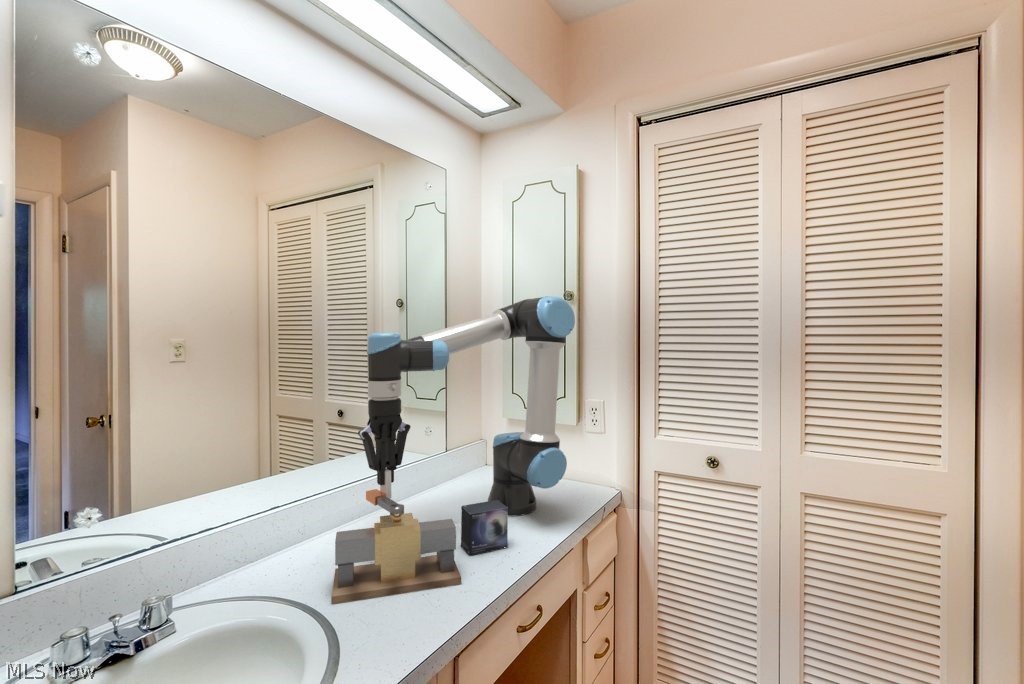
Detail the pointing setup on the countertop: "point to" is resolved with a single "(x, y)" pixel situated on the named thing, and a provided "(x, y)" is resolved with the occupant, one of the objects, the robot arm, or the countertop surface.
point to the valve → (395, 547)
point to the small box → (484, 527)
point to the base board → (371, 586)
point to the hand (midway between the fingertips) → (385, 497)
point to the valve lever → (384, 502)
